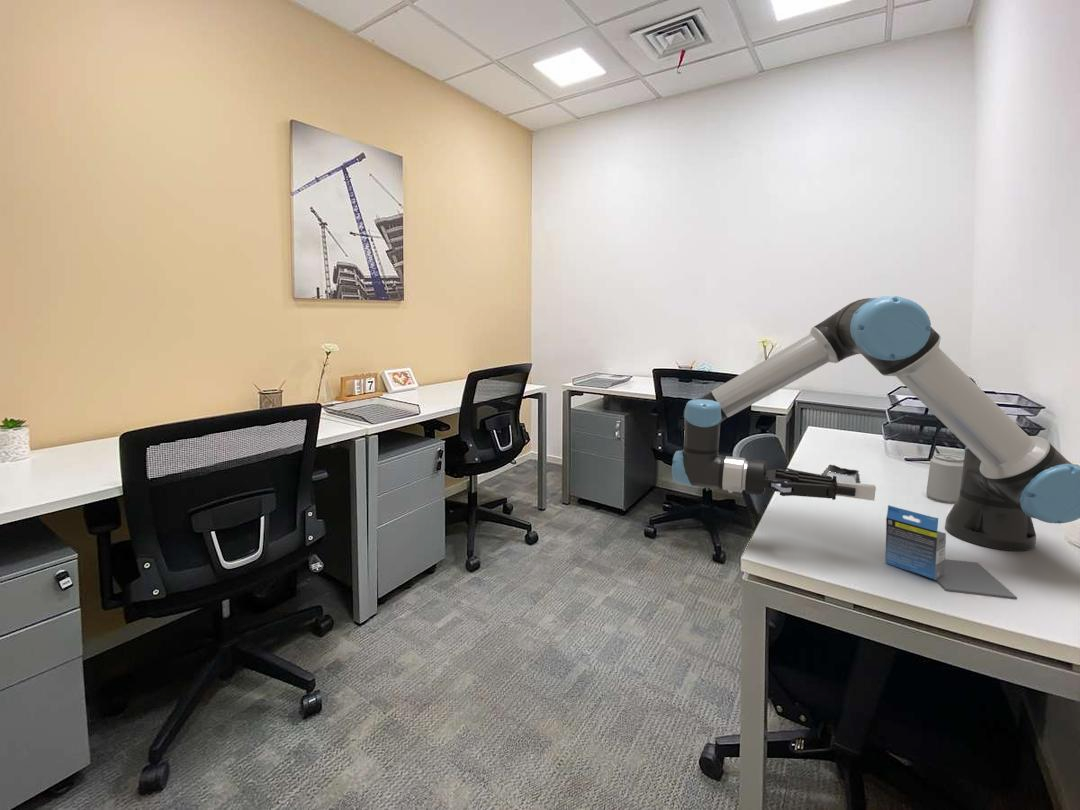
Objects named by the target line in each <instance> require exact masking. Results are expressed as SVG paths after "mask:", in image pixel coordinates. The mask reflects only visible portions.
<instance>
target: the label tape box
mask: <svg viewBox="0 0 1080 810" xmlns="http://www.w3.org/2000/svg"><path fill="white" fill-rule="evenodd" d="M904 516H906V517H908V518H909V517H912V518H913V519H916V520H918V522H917V521H914V520H911V519H907V518H904ZM885 524H886V525H885V527H886V528H885V530H886V531H885V553H884V555H885V556H884V557H885V560H884V562H885V564H887V565H889V566H893V567H896V568H899V569H902V570H905V571H909V572H912V573H914V574H918V575H921V576H923V577H927V578H929V579H931V580H932V579H933V580H935V581H936V579H938V578H939V577H941V576H942V575H943V574H944V570H945V559H946V544H947V543H946V540H947V539H946V537H947V534H946V532H942V531H939V530H938V527H939V526H938V525H939V518H938V517H934V516H931V515H926V514H922V513H918V512H915V511H911V510H908V509H904V508H899V507H897V506H893V505H890V504H888V505H887V512H886V518H885Z"/></svg>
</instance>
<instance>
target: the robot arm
mask: <svg viewBox="0 0 1080 810" xmlns="http://www.w3.org/2000/svg"><path fill="white" fill-rule="evenodd" d="M931 324H932V323H931V319H930V316H929V315H928V313H927V311H926V310H925V309H924V308H923V307H922V306H921V305H920V304H918V303H917V302H915V301H913V300H911V299H910V298H906V297H901V296H897V295H884V296H879V297H873V298H871V297H867V298H861V299H858V300H855V301H852V302H850V303H848V304H847V305H845V306H843V308H841V309H839V310H838V311H837V312H835V313H833V314H832V315H831V316H828V317H827V318H825V319H824V320H823V321H821V322H819V323H817V324H816V325H814V326H813V327H811V329H810V332H809V333H808V335H806V336H804V337H802V338H801V339H800V340H798V341H795V342H793V343H792V344H790V345H789V346H787V347H785V348H784V349H781V350H780V351H779V352H776V353H775V354H773V355H771V356H770V357H768V358H766V359H764V360H763V361H761V362H760V363H757V364H756V365H754V366H753V367H751V368H749V369H748V370H745V371H744V372H742V373H741V374H739V375H737V376H735V377H734V378H731V379H730V380H728V381H726V382H725V383H723V384H721V385H719V386H718V387H716V388H715V389H713V390H711V391H710V392H708V393H706V394H703V395H702V396H701V397H695V398H693V399H691V400H688V402H686V405H685V408H684V410H683V419H684V431H683V432H684V433H683V434H684V435H683V437H684V438H683V448H682V449H681V450H676V451H675V453H674V454H673V457H672V465H671V475H672V476H671V477H672V480H673V481H674V482H676V483H678V484H681V485H682V484H683V485H687V486H690V487H700V488H708V489H713V490H714V489H716V490H722V491H728V494H733V492H736V493H743V491H745V493H746V494H747V495H754V496H761V497H762V496H764V494H765V490H766V489H767V490H772V491H774V492H777V493H779V495H780V496H781V497H789V496H791V497H792V496H793V497H795V496H796V497H807V498H819V499H831V500H833V501H834V500H836V497H837V496H838V497H844V498H845V497H846V498H852V499H859V500H866V501H875V500H876V490H877V486H876V485H874V484H868V483H856V482H854V483H853V482H852V481H844V480H837V476H836V475H832V476H830V475H826V476H825V475H821V474H818V473H813V472H808V471H802V470H797V469H792V468H789V467H782V468H775V469H768V468H767V467H768V465H767V464H768V463H767V461H766V460H762V459H754V458H753V459H752V458H750V459H748V460H746V458H745V457H739V456H738V457H737V456H730V455H719V451H720V450H719V445H720V436H721V435H720V434H721V433H720V432H721V423H722V422H724V421H725V420H727V419H728V418H730V417H732V416H734V415H735V414H737V413H739V412H742V411H743V410H744V409H746V408H748V407H750V406H752V405H753V404H755V403H757V402H759V401H761V400H762V399H764V398H766V397H768V396H770V395H772V394H773V393H776V392H777V391H779V390H781V389H783V388H785V387H786V386H788V385H789V384H792V383H794V382H795V381H797V380H799V379H801V378H803V377H804V376H806V375H808V374H810V373H811V372H813V371H816V370H817V369H819V368H822V366H825V365H827V364H828V363H833V364H837V363H839V362H842V361H843V360H846V359H847V358H849V357H850V358H851V357H853V356H856V355H862V357H864V358H865V360H867V362H868V363H870V364H871V365H872V366H873V367H874V368H875V369H876V371H878V373H880V374H881V375H882V376H884V377H886V376H887V377H896V378H897V379H898V380H899V381H900V382H901V383H902V384H903V385H904V386H905V387H906V388H907V389H908V390H909V391H910V392H911V393H912V394H913V395H914V396H915V397H916V398H917V399H918V400H919V402H921V403H922V404H923V405H924V406H925V407H926V408H927V409H928V410H929V411H930V412H931V413H932V414H933V415H934V416H935V417H936V418H937V419H938V420H939V421H941V423H942V424H943V425H944V426H945V428H947V429H948V430H949V431H950V432H951V433H952V434H953V435H955V437H956V438H958V440H959V441H960V442H961V443H962V444H963V445H964V446H965V448H964V457H963V458H964V460H963V461H964V464H963V472H962V479H961V487H960V494H959V498H958V500H957V501H956V503H953V506H952V508H951V509H950V511H949V513H948V515H947V516H946V519H945V523H944V529H945V530H946V531H947V532H948V533H949V534H951V535H952V536H954V537H956V538H959V539H961V540H962V541H966V542H969V543H972V544H974V545H979V546H983V547H987V548H992V549H996V550H997V549H998V550H1004V551H1014V552H1015V551H1016V552H1017V551H1018V552H1020V551H1021V552H1023V551H1030V550H1032V549H1034V548H1035V546H1036V542H1037V541H1036V540H1037V534H1036V531H1035V530H1036V529H1035V527H1034V522H1033V520H1032V519H1036V520H1038V521H1041V522H1044V523H1047V524H1067V523H1071V522H1074V521H1077V520H1079V519H1080V465H1079V464H1075V463H1072V462H1071V461H1069V460H1068V459H1067V458H1066V457H1064V456H1063V455H1062V453H1060V452H1059V451H1058V450H1057V448H1056V447H1054V446H1053V445H1052V444H1051V443H1050V442H1049V441H1048V440H1047V439H1045V437H1041V436H1036V435H1035V436H1034V435H1029V434H1028V433H1027V432H1025V431H1024V430H1023V429H1022V427H1020V426H1019V425H1018V424H1017V423H1016V421H1014V420H1013V419H1012V418H1011V417H1010V416H1009V415H1008V414H1007V413H1006V411H1004V410H1003V409H1002V408H1001V407H1000V406H999V405H998V404H997V403H996V402H995V401H994V400H993V399H992V398H991V397H990V396H988V395H987V393H985V391H983V389H981V388H980V386H978V384H976V383H975V381H973V380H972V379H971V377H970V376H968V375H967V373H965V372H964V371H963V370H962V369H961V368H960V367H959V366H958V365H957V364H956V363H955V362H954V361H953V360H952V359H951V358H950V357H949V356H948V355H947V354H946V353H945V352H944V351H943V350H942V349H941V348H940V342H941V339H942V338H941V335H940V334H939V333H938V332H937V331H936V330H935V329H934V328H933V327H932V325H931ZM836 481H837V482H836Z"/></svg>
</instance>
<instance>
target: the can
mask: <svg viewBox="0 0 1080 810" xmlns="http://www.w3.org/2000/svg"><path fill="white" fill-rule="evenodd" d="M963 464H964V457H963V456H960V455H957V454H951V453H936V454H935V453H934V454H933V457H932V458H931V459H930V463H929V470H928V476H927V485H926V493H925V494H926V496H928V497H929V499H931V500H932V501H936V502H940V503H945V504H955V503H956V501H957V500H958V498H959V494H960V487H961V479H962V472H963Z"/></svg>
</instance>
